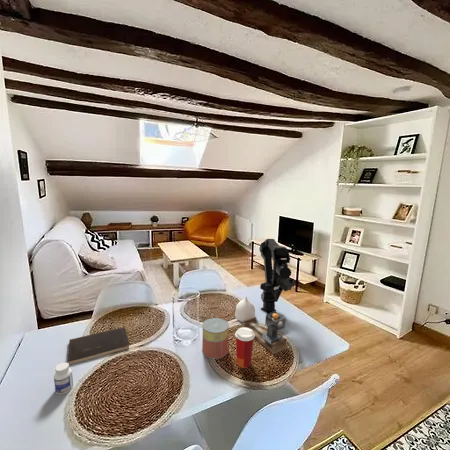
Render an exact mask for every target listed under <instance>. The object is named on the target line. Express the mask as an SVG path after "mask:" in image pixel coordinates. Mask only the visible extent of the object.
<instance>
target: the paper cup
mask: <svg viewBox="0 0 450 450" xmlns="http://www.w3.org/2000/svg"><path fill="white" fill-rule="evenodd" d="M234 336H235V338H236V339H235V343H236V344H235V345H236V347H235V348H236V365H237V366H238V367H239V368H241V369H248V368H249V367H250V366H251V364H252V356H253V349H254V348H253V347H254V339H255V338H254V337H255V335H254V333H253V331H252V330H251V329H249V328H245V327H244V326H243V327H239V328H238V329H237V330H236V332H235V334H234Z"/></svg>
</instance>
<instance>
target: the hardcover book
mask: <svg viewBox="0 0 450 450" xmlns="http://www.w3.org/2000/svg"><path fill="white" fill-rule="evenodd" d="M68 343H69V344H68V351H67V352H68V355H67V362H66V363H68V364H69V365H72V364H76V363H80V362H83V361H88V360H90V359H95V358H98V357H102V356H105V355H106V356H107V355H109V354H112V353H116V352H117V353H118V352H120V351H123V350H128V349H130V342H129V338H128V333H127V330H126V327H125V326H123V327H118V328H114V329H110V330H105V331H102V332H97V333H92V334H89V335H83V336H80V337H75V338H72V339H70V338H69V342H68Z"/></svg>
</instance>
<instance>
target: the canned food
mask: <svg viewBox="0 0 450 450" xmlns="http://www.w3.org/2000/svg"><path fill="white" fill-rule="evenodd" d="M201 325H202V342H201V343H202V348H201V352H202V355H204V356H205V357H206V358H208V359H212V358H214V359H213V360H218V359H221V358H223V357H226V355H227V354H228V353H229V352H228V351H229V349H228V347H229V328H230V327H229V326H230V325H229V322H228V321H227V320H225V319H223V318H221V317H219V318H218V317H212V318H207V319H206V320H204V321H203V323H202V324H201Z"/></svg>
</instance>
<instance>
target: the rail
mask: <svg viewBox="0 0 450 450" xmlns="http://www.w3.org/2000/svg"><path fill="white" fill-rule="evenodd" d="M243 327H245V328H249V329H251V330H252V331H253V333H254V335H255V337H254V339H255V340H256V341H257V342H258V343H259V344H261V345H262V346H263V347H264V348H265V349H267V351H269V352H270V353H271V354H273V355H274V354H277V353H280V352H282V351H284V350H286V347H287V345H286V344H287V339H286V338H285V337H284V338H282V340H279V341H277V342H274V343H273V345H272V346H271V345H270V344H269V343H267V342H266V341H265V340H264V338H263V337H262V335H263V334H265V333H267V329H266V330H265V328H263V327H262V326H260V325H259V324H258V323H257V317H256V316H255V317H252V318H249V319H246V320H244V322H243Z"/></svg>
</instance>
